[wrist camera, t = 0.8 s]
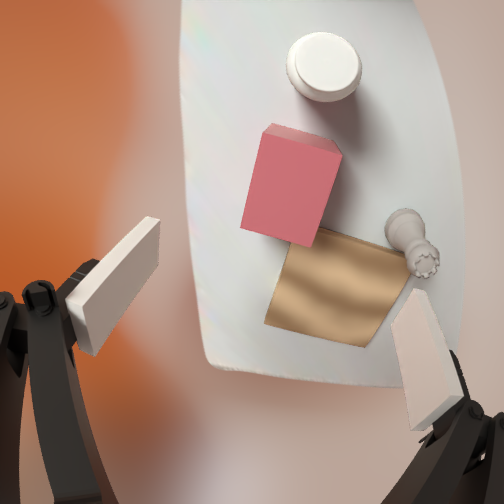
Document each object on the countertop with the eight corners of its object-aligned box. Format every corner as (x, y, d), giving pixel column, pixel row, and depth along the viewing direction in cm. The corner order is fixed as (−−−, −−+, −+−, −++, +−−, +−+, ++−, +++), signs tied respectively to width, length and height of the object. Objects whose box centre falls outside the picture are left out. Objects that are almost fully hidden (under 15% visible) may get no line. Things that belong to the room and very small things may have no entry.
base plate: (297, 220, 31) (297, 225, 30) (413, 256, 31) (416, 262, 30) (265, 317, 38) (264, 323, 37) (363, 341, 38) (364, 347, 37)
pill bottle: (343, 44, 22) (363, 21, 13) (352, 98, 24) (376, 102, 16) (285, 49, 23) (275, 27, 14) (294, 102, 25) (290, 107, 17)
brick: (272, 123, 27) (262, 132, 21) (333, 140, 27) (342, 155, 21) (253, 198, 31) (240, 227, 25) (310, 214, 31) (310, 247, 25)
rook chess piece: (428, 225, 29) (457, 265, 22) (400, 252, 31) (420, 296, 24) (405, 198, 28) (432, 232, 21) (375, 226, 30) (392, 268, 23)
